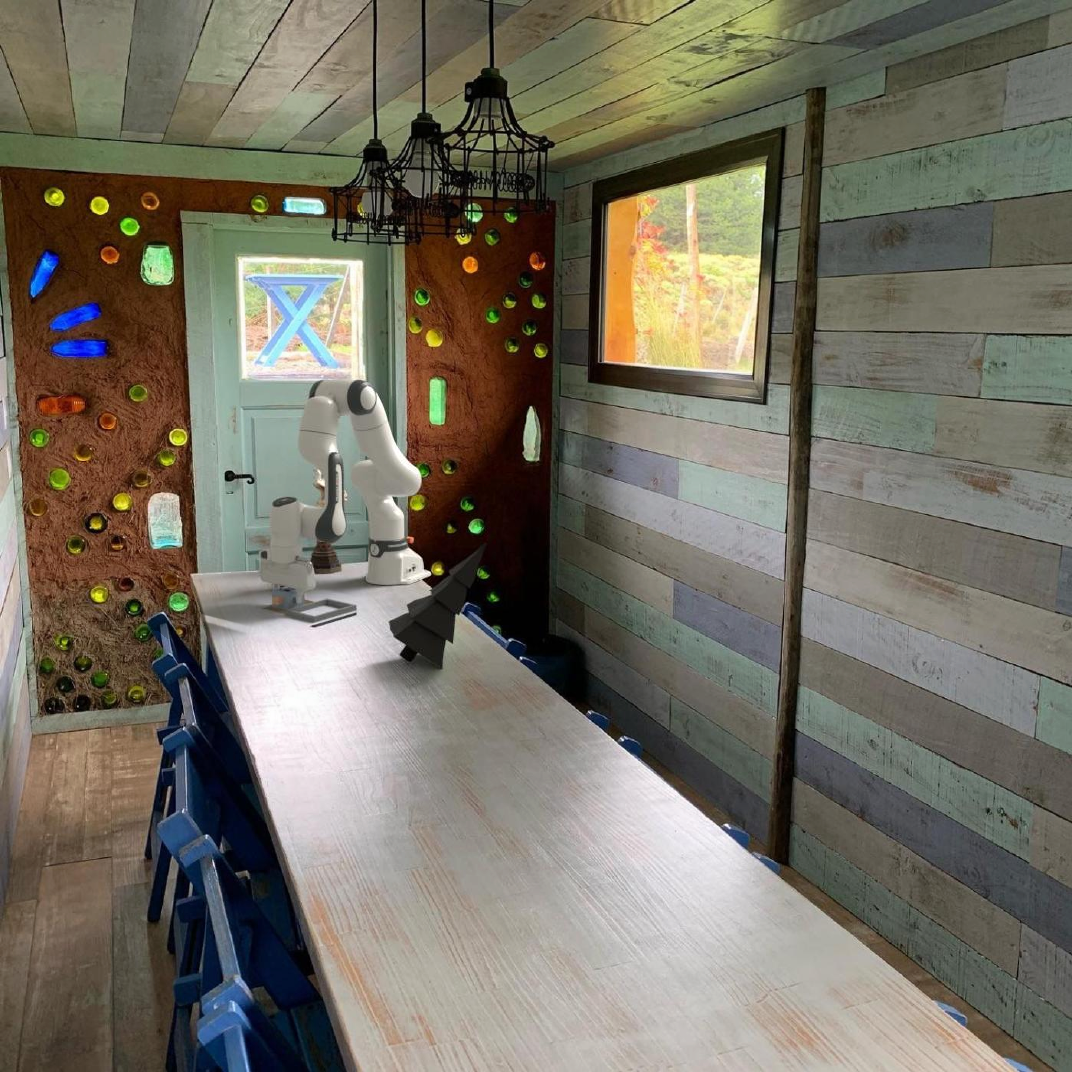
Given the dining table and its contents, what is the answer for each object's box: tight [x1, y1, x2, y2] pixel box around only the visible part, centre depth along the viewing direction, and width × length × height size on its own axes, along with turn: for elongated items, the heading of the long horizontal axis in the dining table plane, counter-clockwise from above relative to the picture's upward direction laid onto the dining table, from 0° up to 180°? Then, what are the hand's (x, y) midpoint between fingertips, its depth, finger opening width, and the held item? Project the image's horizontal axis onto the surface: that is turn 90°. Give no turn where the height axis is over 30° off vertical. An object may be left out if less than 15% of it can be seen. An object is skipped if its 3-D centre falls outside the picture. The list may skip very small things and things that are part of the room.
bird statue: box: [309, 468, 349, 575], centre depth 363 cm, size 17×13×35 cm
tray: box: [284, 598, 358, 628], centre depth 307 cm, size 16×12×3 cm
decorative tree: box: [388, 542, 487, 670], centre depth 268 cm, size 15×15×35 cm
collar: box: [271, 587, 306, 610], centre depth 312 cm, size 8×6×5 cm
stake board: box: [262, 589, 314, 615], centre depth 314 cm, size 14×10×6 cm
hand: (288, 600), depth 313 cm, fingers closed on collar, 6 cm apart
